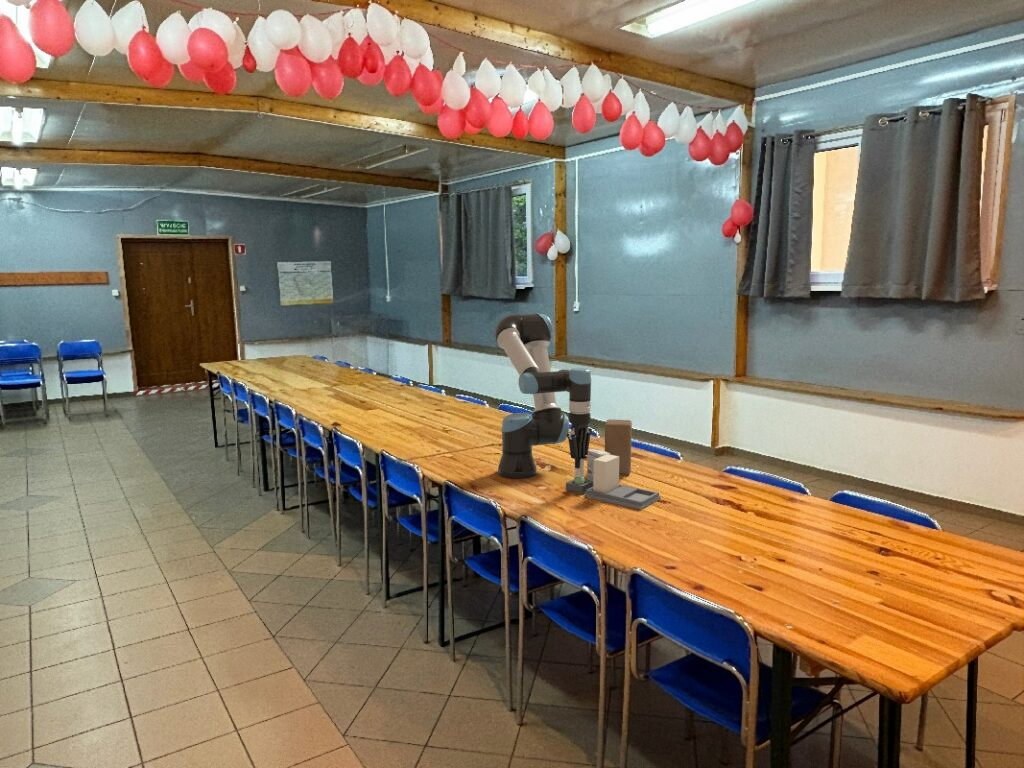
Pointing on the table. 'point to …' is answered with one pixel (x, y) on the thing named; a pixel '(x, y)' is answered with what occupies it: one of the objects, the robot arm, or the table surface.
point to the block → (619, 442)
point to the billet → (606, 473)
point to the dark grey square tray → (578, 486)
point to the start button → (579, 480)
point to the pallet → (626, 496)
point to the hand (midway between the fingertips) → (579, 476)
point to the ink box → (590, 461)
